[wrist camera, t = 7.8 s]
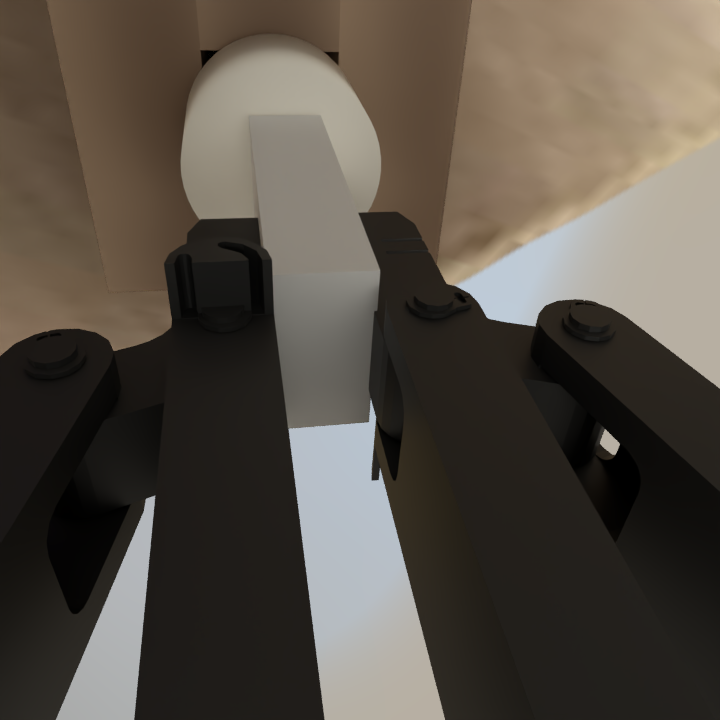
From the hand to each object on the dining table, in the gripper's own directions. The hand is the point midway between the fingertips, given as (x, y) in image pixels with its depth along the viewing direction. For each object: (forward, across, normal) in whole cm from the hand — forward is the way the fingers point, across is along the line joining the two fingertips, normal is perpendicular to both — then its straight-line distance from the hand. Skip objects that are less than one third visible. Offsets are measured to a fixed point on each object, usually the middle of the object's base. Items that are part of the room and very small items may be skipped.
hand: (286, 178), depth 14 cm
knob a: (+9, 0, 0) cm, 9 cm away
